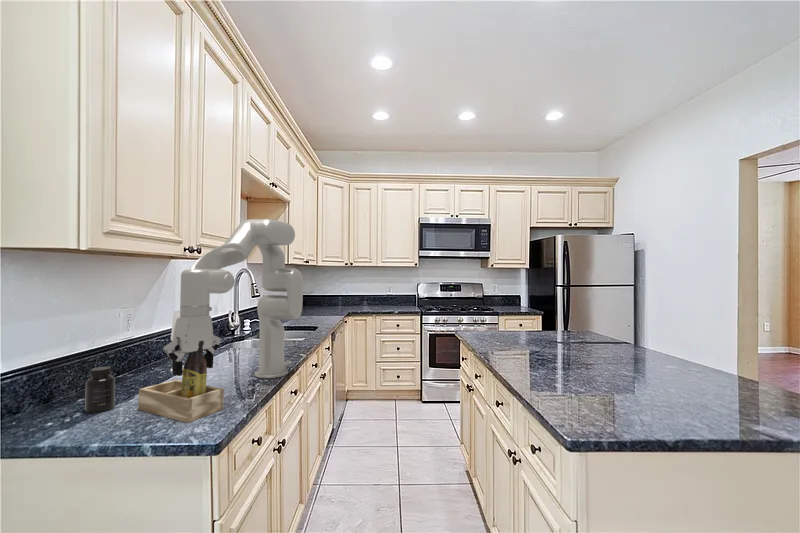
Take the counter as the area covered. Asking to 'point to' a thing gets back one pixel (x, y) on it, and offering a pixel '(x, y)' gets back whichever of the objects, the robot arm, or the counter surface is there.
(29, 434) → the counter surface
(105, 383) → the supplement bottle
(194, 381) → the sauce bottle
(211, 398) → the rail
